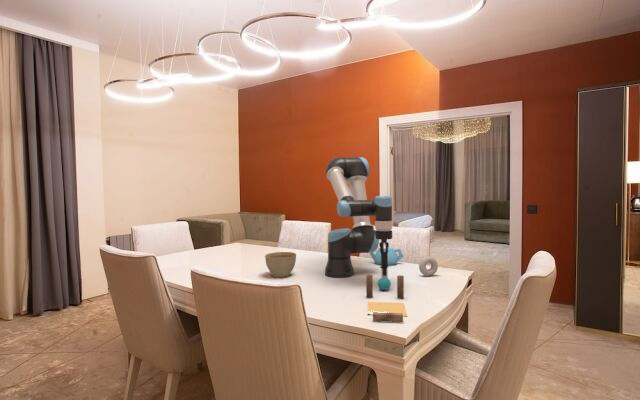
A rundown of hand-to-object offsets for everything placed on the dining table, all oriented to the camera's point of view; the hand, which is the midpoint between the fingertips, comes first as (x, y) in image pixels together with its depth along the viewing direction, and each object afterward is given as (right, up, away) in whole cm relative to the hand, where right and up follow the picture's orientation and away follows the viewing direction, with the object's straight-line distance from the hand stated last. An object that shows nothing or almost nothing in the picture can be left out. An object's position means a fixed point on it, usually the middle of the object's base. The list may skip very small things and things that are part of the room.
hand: (384, 282), depth 166 cm
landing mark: (-4, -4, -28) cm, 29 cm away
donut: (+26, -2, +19) cm, 32 cm away
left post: (-9, -3, -13) cm, 16 cm away
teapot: (+9, 0, +49) cm, 50 cm away
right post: (+4, -3, -15) cm, 16 cm away
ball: (-1, 0, -4) cm, 4 cm away
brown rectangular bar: (-6, -4, -40) cm, 41 cm away
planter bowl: (-49, -2, +25) cm, 55 cm away
